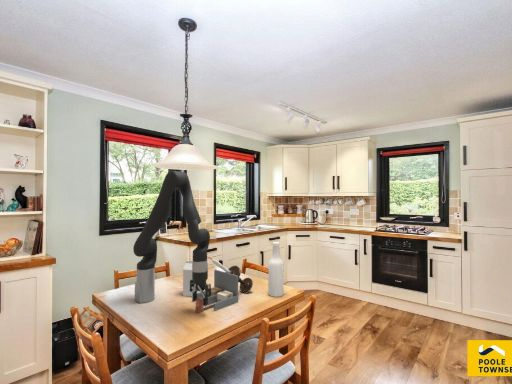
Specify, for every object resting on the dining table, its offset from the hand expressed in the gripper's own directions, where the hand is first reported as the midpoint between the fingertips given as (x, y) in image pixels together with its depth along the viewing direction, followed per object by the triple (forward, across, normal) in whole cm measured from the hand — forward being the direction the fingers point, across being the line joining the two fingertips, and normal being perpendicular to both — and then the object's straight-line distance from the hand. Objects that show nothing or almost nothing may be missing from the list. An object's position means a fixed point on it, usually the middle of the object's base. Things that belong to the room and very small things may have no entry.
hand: (200, 303), depth 136 cm
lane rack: (+4, -5, +13) cm, 15 cm away
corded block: (+4, 0, +9) cm, 10 cm away
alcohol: (+5, +12, +44) cm, 46 cm away
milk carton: (+4, -24, +11) cm, 27 cm away
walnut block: (+4, -9, +16) cm, 19 cm away
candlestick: (+1, -4, +37) cm, 37 cm away
